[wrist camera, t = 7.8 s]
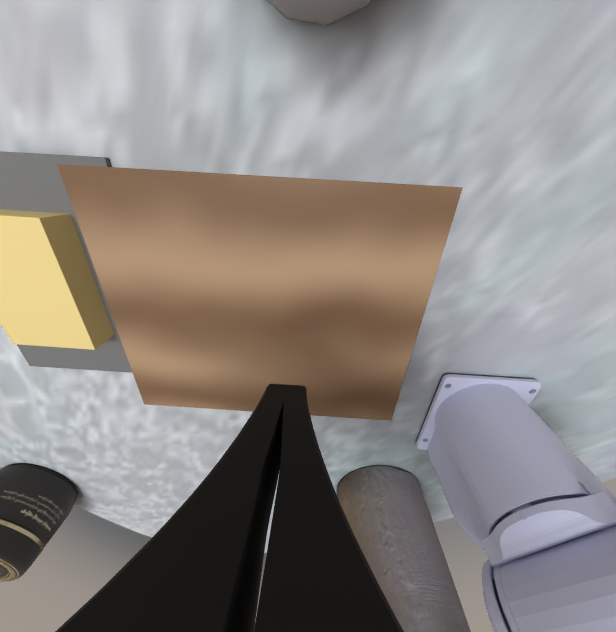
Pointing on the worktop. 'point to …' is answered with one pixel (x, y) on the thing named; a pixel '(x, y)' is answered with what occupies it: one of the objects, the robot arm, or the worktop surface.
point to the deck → (263, 282)
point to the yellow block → (48, 283)
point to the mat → (51, 196)
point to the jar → (30, 514)
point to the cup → (317, 9)
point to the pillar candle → (402, 548)
